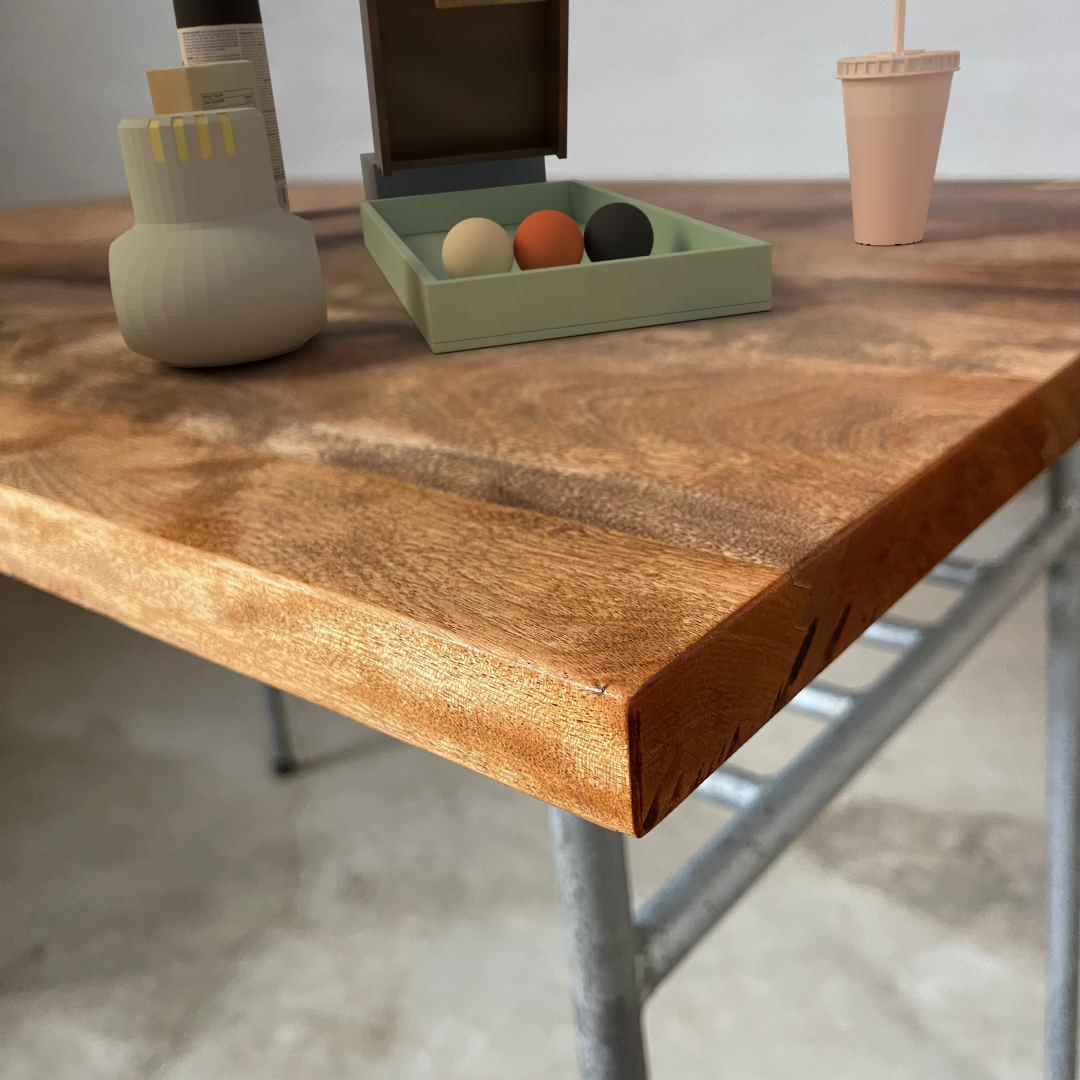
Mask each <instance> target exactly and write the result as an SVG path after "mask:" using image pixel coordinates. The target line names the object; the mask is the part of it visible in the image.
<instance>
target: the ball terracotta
mask: <svg viewBox="0 0 1080 1080" xmlns="http://www.w3.org/2000/svg"><path fill="white" fill-rule="evenodd" d="M513 249H514V257H515V260H516V262H517V265H518V266H519V268H520V269H521V270H522V271H525V270H533V269H542V268H550V267H559V266H567V265H576V264H580V263H581V261H582V258H583V254H584V239H583V235H582V233H581V230H580V228H579V227H578V225H577V224H576V223H575V221H574V220H573V219H572V218H570V217H569V216H568V215H566V214H564V213H562V212H559V211H555V210H542V211H538V212H536V213H533V214H531V215H530V216H528V217H527V218H526V219H525V220H524V221H523V222H522V223H521V224H520V226H519V227H518V229H517V231H516V234H515V236H514V241H513Z"/></svg>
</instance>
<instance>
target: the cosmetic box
mask: <svg viewBox="0 0 1080 1080" xmlns="http://www.w3.org/2000/svg"><path fill="white" fill-rule="evenodd" d="M145 74H146V78H147V79H146V80H147V84H148V89H149V93H150V97H151V102H152V108H153V112H154V115H161V114H171V113H182V112H194V111H206V110H219V109H233V108H256V109H257V110H258V111H259V112H261V113H262V108H261V103H260V97H259V92H258V86H257V80H256V75H255V69H254V63H253V61H249V60H241V61H228V62H215V63H205V64H195V65H186V66H183V65H179V66H171V67H162V68H154V69H149V70H146V71H145Z"/></svg>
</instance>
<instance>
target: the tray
mask: <svg viewBox="0 0 1080 1080" xmlns="http://www.w3.org/2000/svg"><path fill="white" fill-rule="evenodd" d="M615 202H623V203H628V204H631V205H634V206H636V207H637V208H639V209H640V210H641V211H642V212H644V214H645V215H646V216H647V217H648V219H649V221H650V223H651V225H652V228H653V233H654V243H653V248H652V251H651V254H650V256H644V257H635V258H627V259H618V260H610V261H601V262H593V263H592V262H591V261H590V260H589V258H588V256H587V254H586V252H585V248H584V254H583V258H582V261H581V263H580V264H576V265H567V266H559V267H550V268H542V269H533V270H525V271H522V270H521V269H520V268H519V266H518V265H517V262H516V260H515V257H514V262H513V266H512V269H511V271H510V272H508V273H499V274H491V275H482V276H474V277H465V278H457V279H451V278H450V277H449V276H448V274H447V272H446V270H445V268H444V265H443V260H442V248H443V244H444V241H445V238H446V236H447V235H448V233H449V232H450V230H451V229H452V228H453V227H454V226H456V225H457V224H458V223H460V222H462V221H464V220H466V219H470V218H485V219H489V220H491V221H494V222H496V223H497V224H499V225H500V226H501V227H502V228H503V229H504V230H505V231H506V232H507V234H508V235H509V237H510V239H511V241H512V245H513V241H514V236H515V234H516V231H517V229H518V227H519V226H520V224H521V223H522V222H523V221H524V220H525V219H526V218H527V217H528V216H530V215H531V214H533V213H536V212H538V211H542V210H555V211H559V212H562V213H564V214H566V215H568V216H569V217H570V218H572V219H573V220H574V221H575V223H576V224H577V225H578V227H579V228H580V230H581V233H582V235H583V237H584V230H585V227H586V224H587V222H588V220H589V219H590V217H591V216H592V215H593V214H594V213H595V212H596V211H597V210H598V209H599V208H601V207H603V206H605V205H607V204H610V203H615ZM358 206H359V213H360V220H361V228H362V235H363V236H362V237H363V239H364V240H363V243H364V247H365V248H366V249H367V251H368V253H369V255H370V256H371V257H372V259H373V260H374V262H375V264H376V265H377V267H378V268H379V270H380V271H381V273H382V275H383V276H384V278H385V279H386V280H387V283H388V284H389V285H390V287H391V288H392V290H393V291H394V293H395V295H396V296H397V298H398V300H399V301H400V303H401V305H403V307H404V309H405V311H406V312H407V313H408V315H409V317H410V318H411V320H412V321H413V323H414V324H415V326H416V328H417V329H418V331H419V332H420V334H421V336H422V337H423V339H424V340H425V341H426V344H427V346H429V348H430V349H431V351H432V353H433V354H442V353H451V352H457V351H458V352H459V351H465V350H474V349H481V348H489V347H497V346H503V345H511V344H519V343H520V344H521V343H528V342H535V341H542V340H549V339H550V340H551V339H557V338H558V339H559V338H565V337H572V336H580V335H589V334H596V333H603V332H604V333H605V332H611V331H612V332H613V331H619V330H627V329H635V328H642V327H648V326H649V327H650V326H657V325H665V324H666V325H667V324H673V323H680V322H688V321H697V320H704V319H711V318H713V319H714V318H719V317H726V316H727V317H728V316H736V315H744V314H751V313H757V312H767V311H771V310H772V263H773V261H772V257H773V256H772V255H773V254H772V252H773V251H772V250H773V249H772V248H773V245H772V243H770V242H767V241H765V240H761V239H757V238H755V237H752V236H749V235H746V234H742V233H740V232H737V231H733V230H732V229H731V230H730V229H727V228H724V227H721V226H719V225H715V224H713V223H709V222H706V221H703V220H700V219H697V218H694V217H691V216H688V215H685V214H682V213H680V212H679V213H678V212H677V211H676V212H675V211H672V210H669V209H666V208H663V207H661V206H657V205H655V204H651V203H648V202H645V201H642V200H639V199H636V198H633V197H630V196H627V195H624V194H621V193H618V192H615V191H611V190H610V189H609V190H608V189H606V188H602V187H600V186H596V185H594V184H591V183H588V182H584V181H582V180H578V179H575V178H573V179H563V180H554V181H546V182H543V183H534V184H524V185H514V186H505V187H495V188H485V189H476V190H466V191H456V192H447V193H437V194H427V195H418V196H408V197H398V198H389V199H379V200H370V201H366V200H361V201H359V202H358Z"/></svg>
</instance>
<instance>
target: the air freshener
mask: <svg viewBox="0 0 1080 1080" xmlns="http://www.w3.org/2000/svg"><path fill="white" fill-rule="evenodd" d="M116 130H117V135H118V141H119V145H120V150H121V155H122V160H123V165H124V170H125V175H126V179H127V180H126V181H127V184H128V190H129V194H130V200H131V204H132V209H133V214H134V219H135V221H134V224H133V226H132V227H130V228H129V229H128V230H126V231H125V232H124V233H122V234H121V235H119V236H118V237H117V238H116V239H114V241H112V242H111V243H110V245H109V248H108V249H109V250H108V271H109V281H110V289H111V296H112V300H113V305H114V311H115V314H116V319H117V323H118V327H119V330H120V334H121V335H122V339H123V341H124V343H125V345H126V347H127V349H129V350H130V351H131V352H134V353H136V354H137V355H140V356H143V357H144V358H145V357H146V358H148V359H151V360H153V361H158V362H160V363H163V365H166V366H169V367H174V368H175V367H176V368H210V367H222V366H223V367H224V366H231V365H239V364H244V363H252V362H256V361H257V362H258V361H262V360H267V359H272V358H277V357H279V356H282V355H287V354H289V353H293V352H294V351H297V350H298V349H300V348H301V347H303V346H304V344H305V343H306V342H307V341H309V340H311V339H312V338H313V337H314V336H316V335H317V334H318V333H320V332H321V331H323V329H324V328H326V327H327V325H328V308H327V306H328V305H327V299H326V291H325V284H324V277H323V272H322V265H321V260H320V256H319V251H318V247H317V243H316V238H315V235H314V231H313V228H312V225H311V222H310V221H308V220H307V219H305V218H303V217H301V216H299V215H296V214H294V213H291V212H289V213H288V212H285V211H283V210H282V209H281V208H280V206H279V203H278V197H277V192H276V186H275V180H274V174H273V168H272V163H271V157H270V151H269V145H268V139H267V133H266V128H265V122H264V116H263V114H262V113H261V112H259V111H258V110H257V109H256V108H233V109H219V110H206V111H194V112H182V113H171V114H161V115H155V114H154V115H153V114H151V115H143V116H135V117H127V118H126V117H125V118H122V119H121V121H120V122H119V124H118V125H117V127H116Z"/></svg>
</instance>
